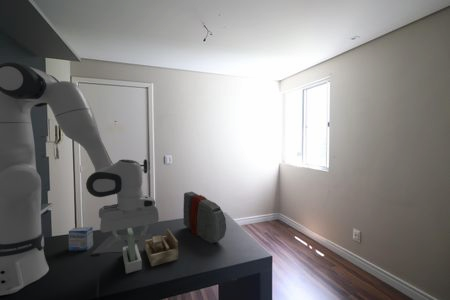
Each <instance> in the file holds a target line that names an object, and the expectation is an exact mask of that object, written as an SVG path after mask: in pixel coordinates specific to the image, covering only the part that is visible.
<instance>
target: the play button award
mask: <svg viewBox="0 0 450 300" xmlns="http://www.w3.org/2000/svg"><path fill="white" fill-rule="evenodd" d="M119 235H120V234H119ZM134 237H135V241H136V242H135V244H137V247H138V250H139V252H142V251H144V249H145V240H149V239H151V237H152V233H146V236H143V237H142V236H141V233H140V234H134ZM127 242H128V234H121V235H120V241H118V242H116V238H115V236H114V235H109V236H108V237H107V238H106V239H105V240H103V241H102V243H100V244H99V245H98V246H97V247H96V248H95V249H94V250H93V251H92V252H91V255H92V256H100V255H101V254H106V253H123V247H126V246H128V243H127Z"/></svg>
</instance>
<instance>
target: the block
mask: <svg viewBox="0 0 450 300" xmlns="http://www.w3.org/2000/svg"><path fill="white" fill-rule="evenodd" d="M126 229H127V230H126V231H127V235H128V241H127V246H128V255H127V257H128V261H129V262H132V261H136V257H135V243H136V240H135V237H134V235H135V233H134V231H133V227H132V228H126Z"/></svg>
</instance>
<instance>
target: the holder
mask: <svg viewBox="0 0 450 300" xmlns="http://www.w3.org/2000/svg"><path fill="white" fill-rule="evenodd" d="M122 257H123V262H124V263H123V264H124V268H125V274H129V273H133V272H136V271H140V270H142V269H143V261H142V258H141V253H140V251H139V250H138V247H137V244H135V261H132V262H129V257H128V245H127V246H126V247H123V252H122Z"/></svg>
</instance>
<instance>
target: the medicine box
mask: <svg viewBox="0 0 450 300" xmlns="http://www.w3.org/2000/svg"><path fill="white" fill-rule="evenodd" d="M93 229H94V227H92V226H91V227H90V226H89V227H86V226H85V227H83V226H82V227H73V228H71V229H70V230H69V231H68V251H69V252H73V251H74V252H77V251H89V250H90V249H91V248H92V247H93V246H94V238H93V237H94V236H93V235H94V234H93V233H94V230H93Z"/></svg>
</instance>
